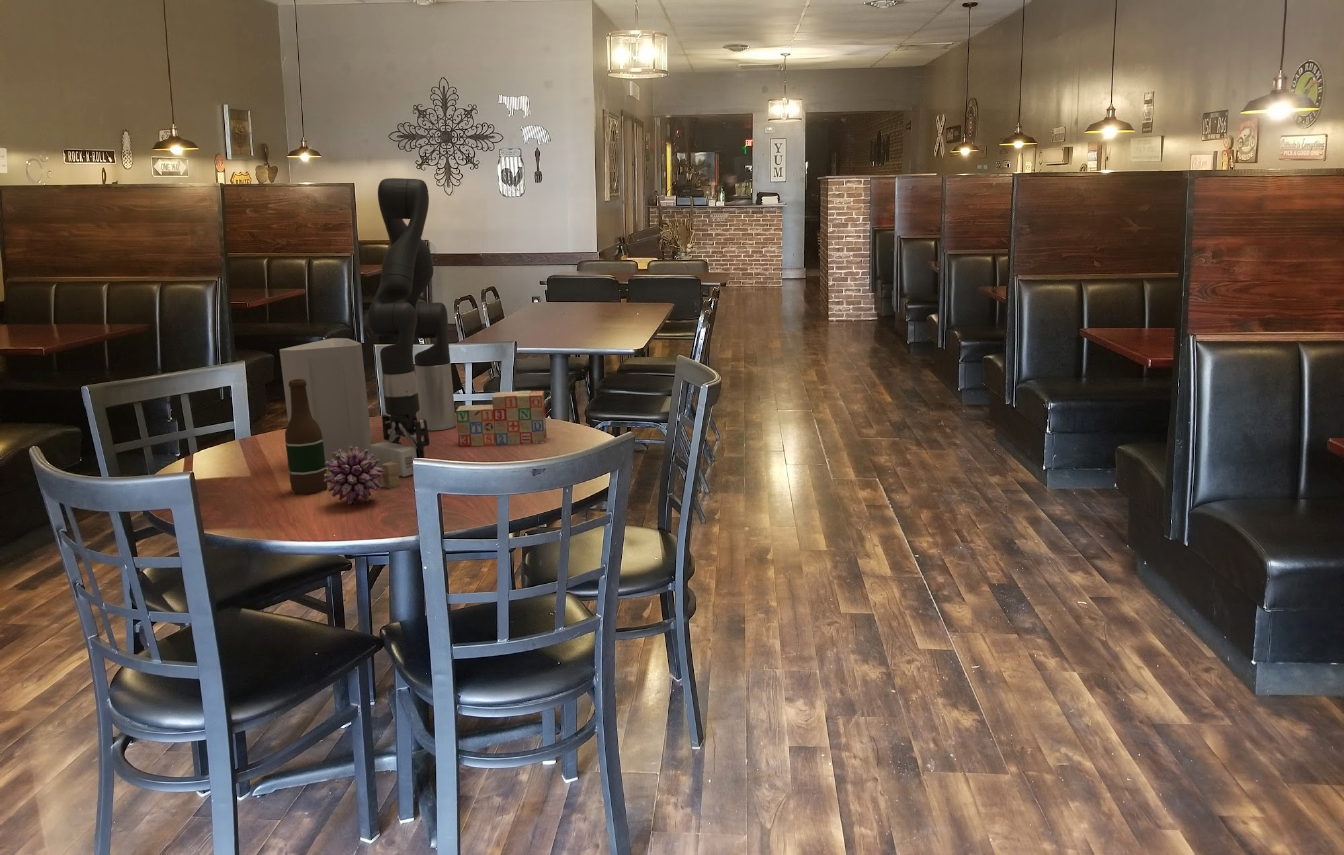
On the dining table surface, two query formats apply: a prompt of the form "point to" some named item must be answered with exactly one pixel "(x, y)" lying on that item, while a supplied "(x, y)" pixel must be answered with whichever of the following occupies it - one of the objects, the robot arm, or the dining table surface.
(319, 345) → the paper bag
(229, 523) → the dining table surface
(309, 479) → the beer bottle
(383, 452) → the skincare box
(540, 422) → the stack of blocks
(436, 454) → the dining table surface
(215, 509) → the dining table surface
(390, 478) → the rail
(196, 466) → the dining table surface
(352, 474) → the flower
